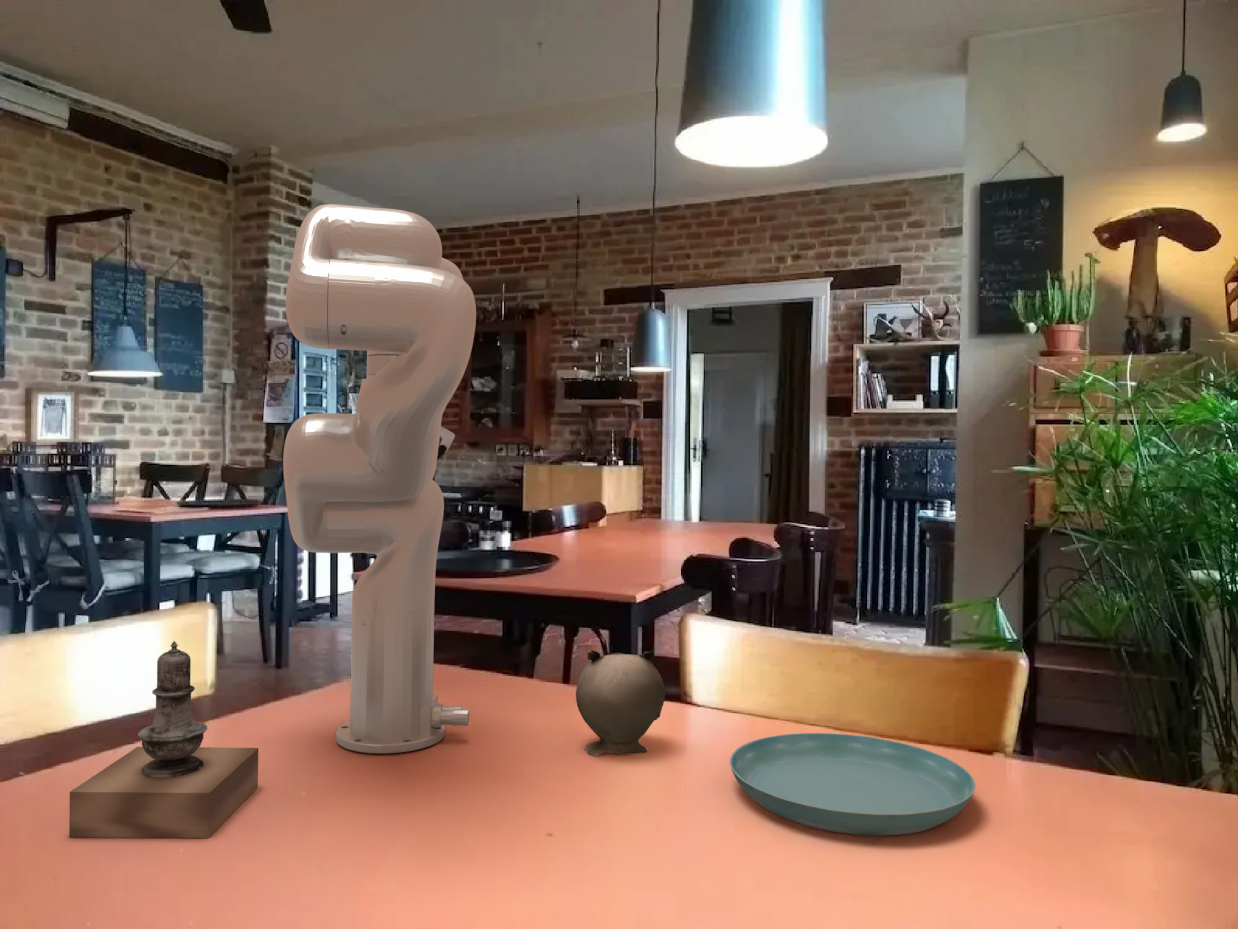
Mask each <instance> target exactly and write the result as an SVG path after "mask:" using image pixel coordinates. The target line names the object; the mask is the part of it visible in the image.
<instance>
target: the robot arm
mask: <svg viewBox="0 0 1238 929" xmlns="http://www.w3.org/2000/svg"><path fill="white" fill-rule="evenodd" d="M442 256H443V244H442V240H441V237H440V235H439V233H438V232H437V230H436V228H435V227H434V225H433V224H432V223H431V222H430V221H429V220H428V219H426V218H425V217H423V216H421V215H420V214H417V213H415V212H411V211H407V210H402V209H397V208H396V209H395V208H386V207H385V208H384V207H383V208H381V207H370V206H358V205H349V204H347V205H346V204H340V203H339V204H337V203H327V204H321V205H317V206H316V207H314V208H312V210H310V211H309V212H308V213H307V214H306V216H305V218H304V219H303V221H302V223H301V224H300V227H299V229H298V233H297V236H296V238H295V244H294V248H293V255H292V260H291V265H290V268H289V274H288V279H287V280H288V281H287V286H286V292H285V315H286V320H287V324H288V327H289V330H290V332H291V333H292V335H293V336H294V338H296V340H297V341H299V342H300V343H302V344H303V345H305V346H308V347H312V348H317V349H322V350H323V349H324V350H325V349H326V350H342V351H344V350H345V351H364V352H367V354H366V356H367V357H366V358H367V359H366V378H362V379H361V383H360V388H359V393H358V396H357V398H356V399H357V400H356V413H338V412H337V413H336V412H334V413H333V412H332V413H331V412H329V413H328V412H327V413H326V412H322V413H321V412H320V413H310V414H309V413H308V414H305V415H303V416H301V417H299V418H297V419H296V420H295V421H294V422H293V423H292V424H291V426H290V428H289V429H288V431H287V434H286V437H285V441H284V447H283V454H282V455H283V456H282V457H283V458H282V461H283V462H282V463H283V464H282V465H283V466H282V467H283V480H284V490H285V491H284V492H285V498H286V499H285V500H286V506H287V508H286V509H287V518H288V523H289V529H290V533H291V536H292V539H293V541H294V544H296V545H297V547H299V548H300V549H301V550H303V551H306V552H309V553H314V554H315V553H317V554H321V553H322V554H349V553H350V554H351V553H352V554H356V553H357V554H358V553H359V554H361V553H364V554H373V555H375V556H376V558H375V559H374V560H373V562H372V563H371V564H370V565H369V566H368V567H367V568H366V569H365V570H364V572H363V573H362V574H361V575H360V576H359V578H358V579H357V582H356V583H355V586H354V588H353V592H352V595H351V597H352V599H351V633H350V634H351V644H350V645H351V646H350V650H351V652H350V653H351V654H350V699H349V700H350V701H349V702H350V705H349V707H350V710H349V713H350V714H349V720H348V721H346V722H344V723H342V724H341V725H339V726H338V728H337V729H336V731H335V732H336V734H335V736H336V737H335V739H336V743H337V744H338V745H339V746H340V747H342V748H344V749H347V750H350V751H354V752H358V753H365V754H382V755H383V754H398V753H404V752H412V751H417V750H422V749H426V748H428V747H430V746H433V745H435V744H437V743H439V742H440V741H441V740H442V739H443V738H444V737H445V734H446V725H447V726H449V725H451V726H454V727H455V726H456V727H457V726H458V727H459V726H460V727H461V726H462V727H468V726H469V723H470V709H469V708H463V707H462V705H459V704H458V705H444V704H443V703H441V702H440V703H439V693H434V692H433V691H434V644H435V641H434V640H435V638H434V637H435V595H436V594H435V593H436V591H435V590H436V570H437V557H438V552H439V551H438V549H439V543H440V538H441V533H442V525H443V520H444V510H445V501H444V495H443V492H442V490H441V487H440V486H439V484H438V483H437V482H436V480H435V479H436V467H437V464H438V461H439V460H441V459H442V457H443V456H444V455H445V454H447V453H448V451H449V449H450V447H451V445H452V443H453V441H454V440H455V438H456V434H455V433H454V432H452V431H450V430H448V429H447V428H445V427H443V426H442V418H443V415H444V414H443V413H444V412H445V409H446V407H447V405H448V404H449V403H450V401H451V399H452V398H453V395H454V394H455V392H456V391H457V389H458V387H459V384H460V383H461V381H462V378H463V377H464V374H465V371H466V369H467V366H468V363H469V360H470V358H471V357H470V356H471V353H472V349H473V344H474V338H475V331H476V325H477V324H476V323H477V321H476V320H477V307H476V299H475V296H474V292H473V290H472V288H471V286H470V285H469V283H467V282H466V281H465V280H464V277H463V274H462V272H461V270H460V269H459V267H458V266H457V265H456V264H455V263H454V262H452V261H450V260H448V259H446V258H444V257H442ZM440 438H441V442H440Z"/></svg>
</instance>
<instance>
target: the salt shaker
mask: <svg viewBox="0 0 1238 929" xmlns="http://www.w3.org/2000/svg"><path fill="white" fill-rule="evenodd" d="M178 646H179V644H178V643H177V642H176V641H175V640H173V641H172V642H171V645H170V647H171V649H169V650H168V651H165V652H163V653H162V654H161V655H160V656H158V658H157V661H156V665H157V666H156V687H155V688H154V689H153V690H152V691H151V692H152V695H154V696H155V714H154V718H153V720H152V724H150V725H149V726H146V727H144V728H142V729H140V731H139V732H138V734H137V737H138V739H140V740H141V747H143V748H144V751H145V752H146V754H148V755H149V756H150V757H151V758H153V759H155V760H153V761H151V762H149V763H148V764H147V765H145V766H144V767H143V768H142V770H141V773H142V774H143V775H145V776H147V777H153V778H169V777H177V776H182V775H186V774H189V773H193V772H195V771H197V770H199V769H200V768H202V766H203V761H202V760H201V759H199V758H197V757H195V756H192V754H193V753H194V752H195V751H196V750H197V749H198V748H199V747H201V745H202V742H203V741H204V733H206V731H207V730H208V725H207V724H206V723H204V722H202V721H197V720H195V719H194V715H193V714H192V693H194V691H195V689H196V688H195V686H193V685H191V668H192V667H191V662H192V661H191V656H190V654H188V652H185V651H183V650H181V649H178Z"/></svg>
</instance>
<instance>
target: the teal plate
mask: <svg viewBox="0 0 1238 929" xmlns="http://www.w3.org/2000/svg"><path fill="white" fill-rule="evenodd" d="M729 766H730V768H731V771H732V774H733V776H734V779H735V780H736V781H737V783H738V784H739V786H740V787H741V788H742V789H743V791H745V793H746V794H747V795H748V796H749V797H750V798H752V799H753V800H754V801H755V802H756V803H757V804H759V805H760V806H761V807H763V808H764V809H766V810H767V811H769V812H771V813H773V814H775V815H777V816H778V817H781V818H783V819H785V820H788V821H790V822H793V823H797V824H799V825H803V826H805V827H808V828H811V829H818V830H821V831H825V832H826V831H827V832H833V833H838V834H844V835H845V834H846V835H855V836H864V837H865V836H867V837H869V836H871V837H885V836H887V837H889V836H891V837H892V836H903V835H909V834H910V835H911V834H915V833H920V832H924V831H927V830H930V829H932V828H935V827H938V826H940V825H942V824H943V823H945V822H948V821H949V820H951V819H952V818H954V817H955V816H956V815H958V814H959V813H960V812H961V811H962V810H963V809H964V808H965V807H966V806H967V804H968V803H969V802H970V800H971V798H972V797H973V795H974V793H975V790H976V783H975V780H974V778H973V776H972V775H971V774H970V772H969V771H968V770H966V769H965V768H964V767H963V766H961V765H960V764H958V763H956V762H955V761H953V760H951V759H949V758H947V757H945V756H943V755H940V754H938V753H935V752H933V751H930V750H927V749H924V748H921V747H919V746H915V745H910V744H907V743H902V742H899V741H898V742H897V741H893V740H889V739H885V738H878V737H872V736H864V735H859V734H858V735H857V734H849V733H848V734H846V733H844V734H843V733H831V732H830V733H825V732H802V733H801V732H800V733H786V734H779V735H772V736H766V737H762V738H758V739H754V740H752V741H749V742H746V743H745V744H742V745H740V746H739V747H738V748H736V749H735V750H734V752H732V754H731V756H730V757H729Z"/></svg>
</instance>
